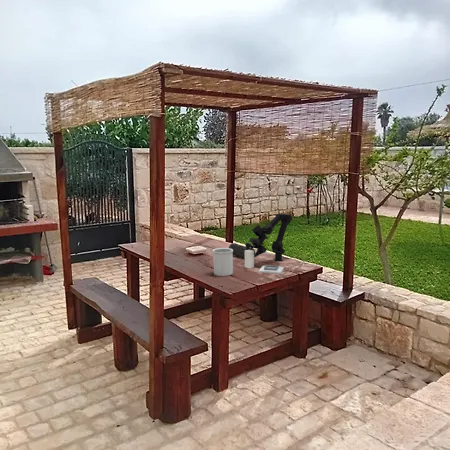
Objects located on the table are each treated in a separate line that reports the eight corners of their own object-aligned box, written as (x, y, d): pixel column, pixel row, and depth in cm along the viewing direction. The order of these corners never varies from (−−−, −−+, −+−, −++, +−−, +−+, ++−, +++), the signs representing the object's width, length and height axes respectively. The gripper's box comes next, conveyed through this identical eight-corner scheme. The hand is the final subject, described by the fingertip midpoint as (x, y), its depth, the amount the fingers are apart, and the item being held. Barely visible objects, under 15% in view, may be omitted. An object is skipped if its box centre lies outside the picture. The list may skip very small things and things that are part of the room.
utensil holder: (215, 277, 303) (215, 252, 300) (210, 271, 317) (210, 248, 314) (235, 275, 307) (235, 251, 304) (229, 270, 321) (229, 247, 318)
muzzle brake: (246, 261, 349) (246, 248, 347) (227, 255, 372) (227, 243, 371) (255, 259, 354) (255, 247, 353) (236, 253, 377) (236, 242, 376)
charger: (249, 266, 333) (249, 249, 331) (253, 267, 329) (253, 250, 327) (244, 267, 330) (244, 250, 328) (249, 268, 326) (249, 251, 324)
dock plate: (263, 267, 329) (263, 263, 329) (283, 268, 325) (283, 264, 325) (258, 272, 314) (258, 268, 314) (280, 273, 310) (280, 270, 309)
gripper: (246, 232, 337) (236, 248, 331) (263, 235, 323) (253, 251, 317) (253, 241, 343) (243, 256, 338) (271, 244, 329) (260, 260, 324)
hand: (250, 256), depth 329 cm, fingers open, 9 cm apart
